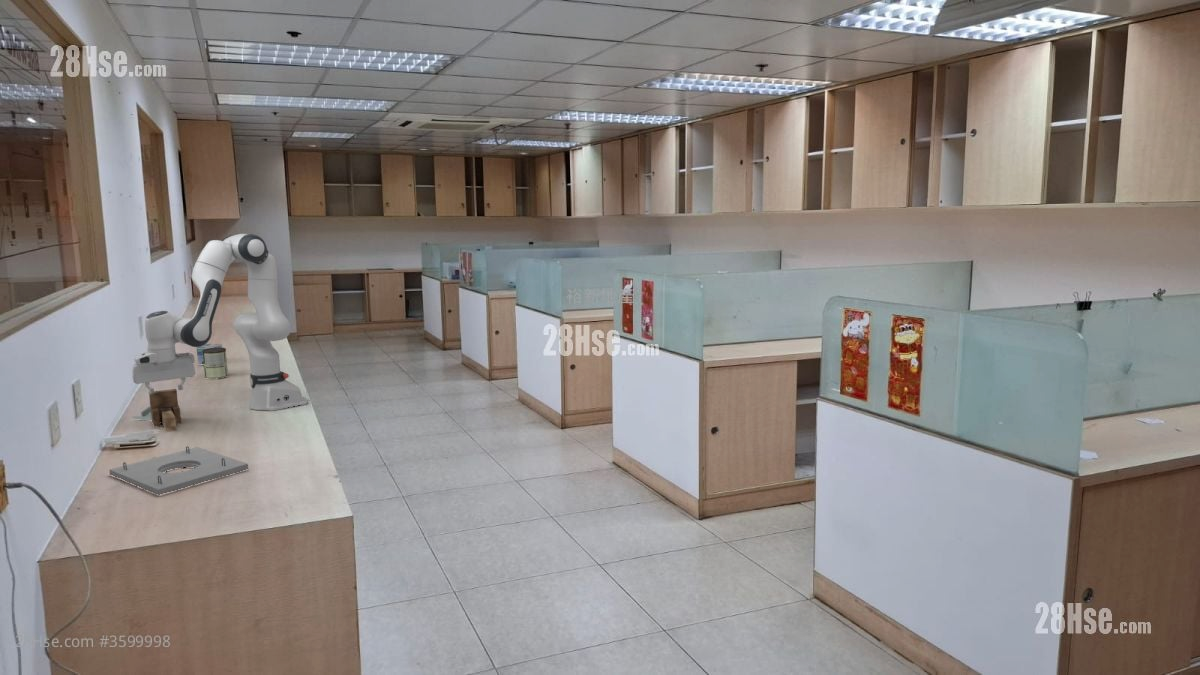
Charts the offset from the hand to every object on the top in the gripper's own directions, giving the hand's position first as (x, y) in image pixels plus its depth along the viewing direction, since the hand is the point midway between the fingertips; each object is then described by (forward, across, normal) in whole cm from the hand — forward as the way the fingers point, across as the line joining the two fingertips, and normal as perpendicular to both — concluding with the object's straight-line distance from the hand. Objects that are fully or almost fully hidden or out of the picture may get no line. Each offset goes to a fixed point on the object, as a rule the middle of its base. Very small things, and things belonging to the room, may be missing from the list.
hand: (166, 391), depth 278 cm
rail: (+14, 0, 0) cm, 14 cm away
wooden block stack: (+14, +1, -7) cm, 15 cm away
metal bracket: (+14, +2, -19) cm, 24 cm away
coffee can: (+15, -29, -85) cm, 91 cm away
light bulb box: (+16, -32, -122) cm, 127 cm away
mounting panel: (+14, +4, +60) cm, 61 cm away
